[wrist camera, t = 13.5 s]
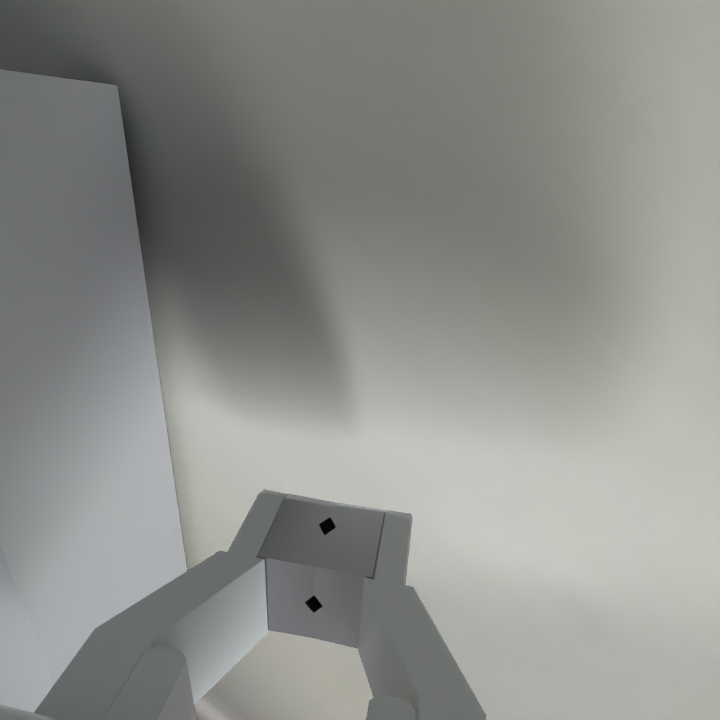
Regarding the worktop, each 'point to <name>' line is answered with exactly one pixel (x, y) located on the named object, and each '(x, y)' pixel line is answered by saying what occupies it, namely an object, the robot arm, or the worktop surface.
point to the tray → (74, 385)
